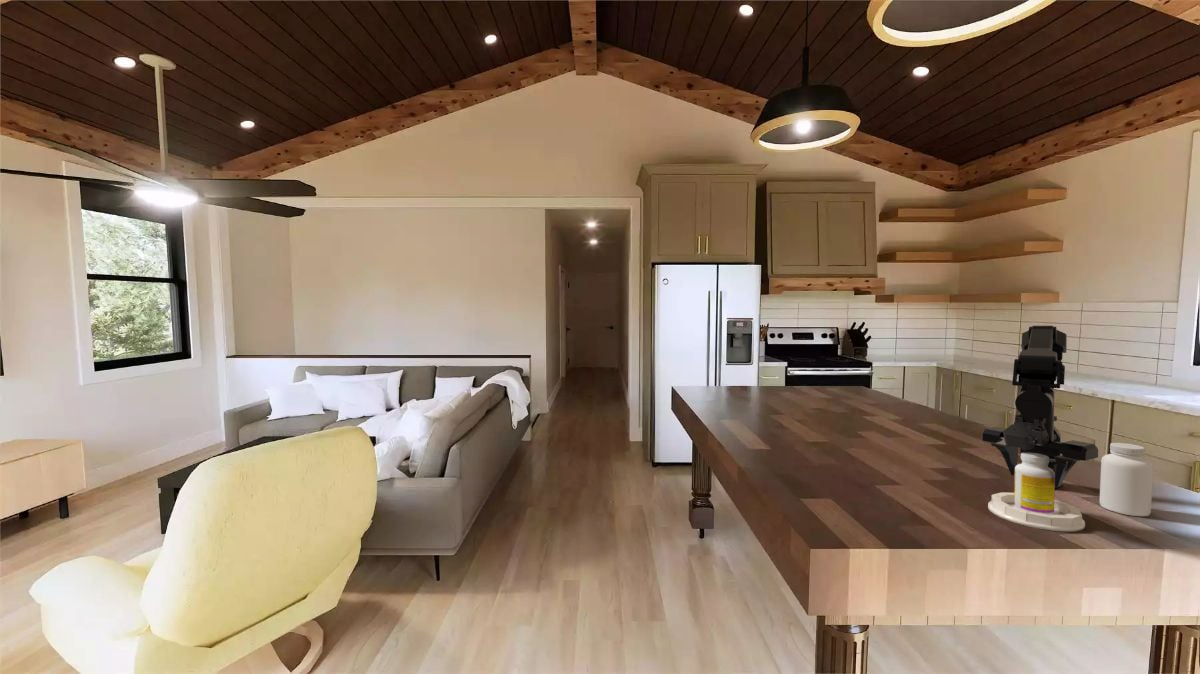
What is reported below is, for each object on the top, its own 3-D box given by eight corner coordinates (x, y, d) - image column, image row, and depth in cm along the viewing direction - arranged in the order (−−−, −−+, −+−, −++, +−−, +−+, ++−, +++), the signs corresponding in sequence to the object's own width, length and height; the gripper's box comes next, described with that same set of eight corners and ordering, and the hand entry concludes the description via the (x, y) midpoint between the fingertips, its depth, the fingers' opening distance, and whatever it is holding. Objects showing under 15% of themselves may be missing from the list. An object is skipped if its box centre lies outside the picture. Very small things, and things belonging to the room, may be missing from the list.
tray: (1011, 498, 118) (1012, 487, 117) (1100, 523, 103) (1100, 511, 103) (972, 509, 111) (972, 498, 111) (1061, 537, 96) (1061, 524, 96)
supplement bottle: (1062, 519, 103) (1063, 460, 103) (1026, 517, 104) (1028, 458, 104) (1040, 507, 110) (1041, 451, 109) (1007, 505, 111) (1008, 450, 111)
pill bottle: (1144, 520, 104) (1146, 452, 103) (1093, 507, 111) (1095, 443, 111) (1157, 513, 108) (1159, 447, 107) (1107, 501, 115) (1108, 439, 114)
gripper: (967, 407, 111) (966, 473, 112) (1072, 422, 94) (1070, 501, 95) (995, 403, 116) (994, 467, 116) (1100, 417, 99) (1098, 492, 99)
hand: (1034, 480), depth 107 cm, fingers open, 8 cm apart
